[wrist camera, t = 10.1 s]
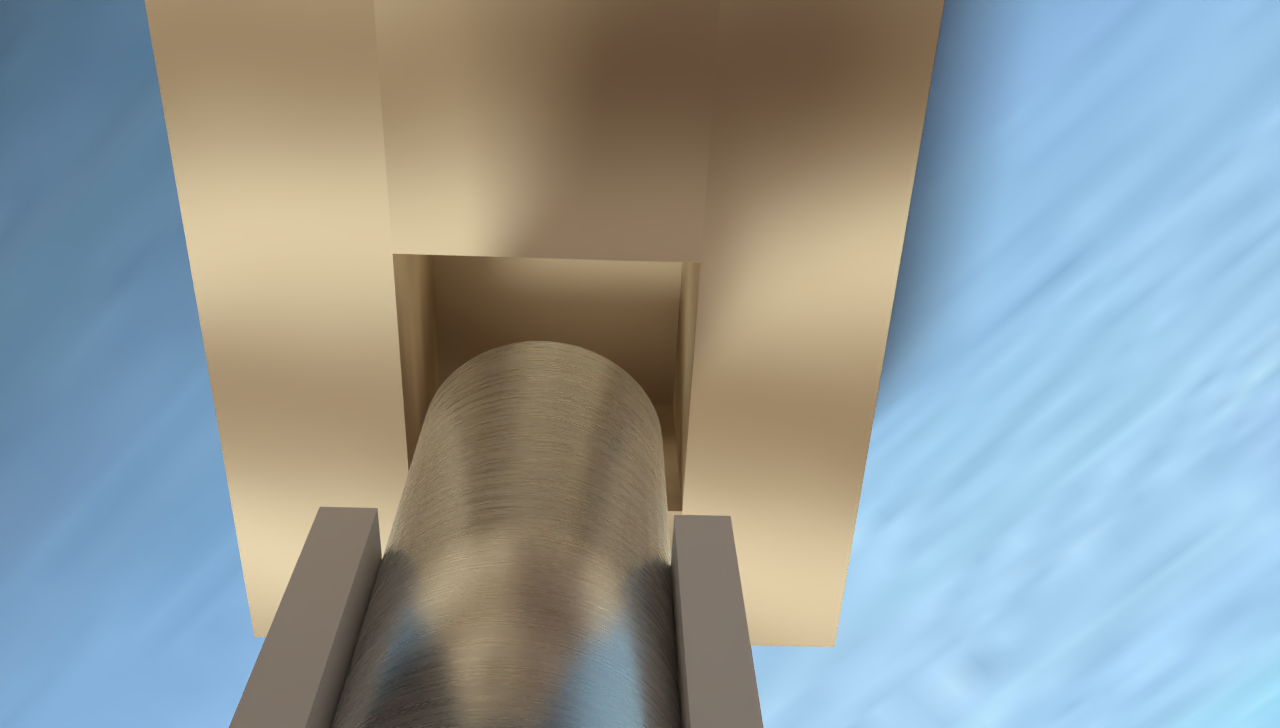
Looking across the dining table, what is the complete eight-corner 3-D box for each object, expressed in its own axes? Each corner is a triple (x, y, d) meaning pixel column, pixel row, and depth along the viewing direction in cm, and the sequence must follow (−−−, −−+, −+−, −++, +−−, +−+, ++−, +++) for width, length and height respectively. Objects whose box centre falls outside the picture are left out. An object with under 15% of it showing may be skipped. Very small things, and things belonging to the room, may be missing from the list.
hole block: (135, -919, 15) (-64, -1208, 11) (986, -860, 15) (1134, -1113, 11) (314, 494, 26) (254, 636, 22) (799, 504, 27) (834, 646, 22)
